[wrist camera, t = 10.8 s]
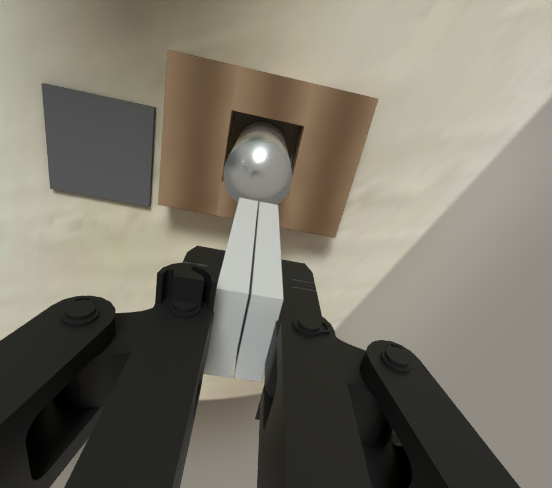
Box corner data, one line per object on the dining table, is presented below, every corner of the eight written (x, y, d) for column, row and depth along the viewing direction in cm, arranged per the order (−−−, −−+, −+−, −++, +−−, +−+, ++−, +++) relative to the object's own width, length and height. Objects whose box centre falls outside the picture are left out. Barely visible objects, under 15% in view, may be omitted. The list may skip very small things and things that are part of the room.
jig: (167, 194, 33) (158, 204, 30) (177, 52, 27) (167, 49, 25) (329, 224, 34) (335, 237, 32) (368, 96, 29) (378, 98, 26)
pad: (52, 187, 32) (50, 188, 32) (44, 83, 28) (41, 83, 28) (150, 205, 33) (149, 207, 33) (155, 107, 29) (154, 107, 29)
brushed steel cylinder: (233, 167, 32) (219, 203, 23) (240, 117, 30) (227, 135, 21) (280, 175, 32) (284, 215, 23) (290, 127, 30) (299, 149, 21)
